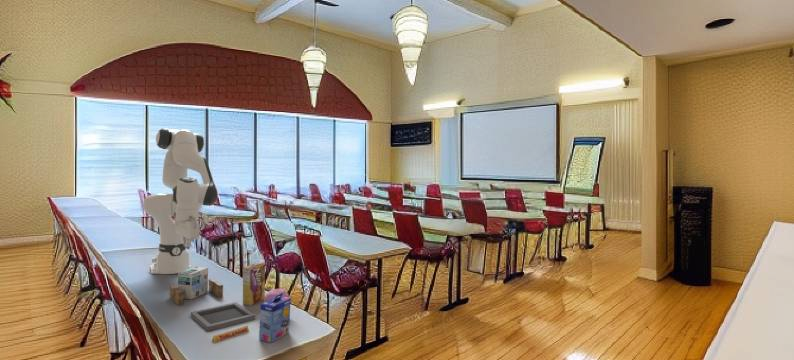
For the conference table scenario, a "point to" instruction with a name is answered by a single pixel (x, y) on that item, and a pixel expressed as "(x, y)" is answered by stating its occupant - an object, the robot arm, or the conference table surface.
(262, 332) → the ink cartridge box
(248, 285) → the candy box
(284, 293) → the cupcake
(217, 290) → the wooden blocks
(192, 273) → the light bulb box
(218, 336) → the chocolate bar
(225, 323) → the grey shallow rectangular tray
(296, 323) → the conference table surface
